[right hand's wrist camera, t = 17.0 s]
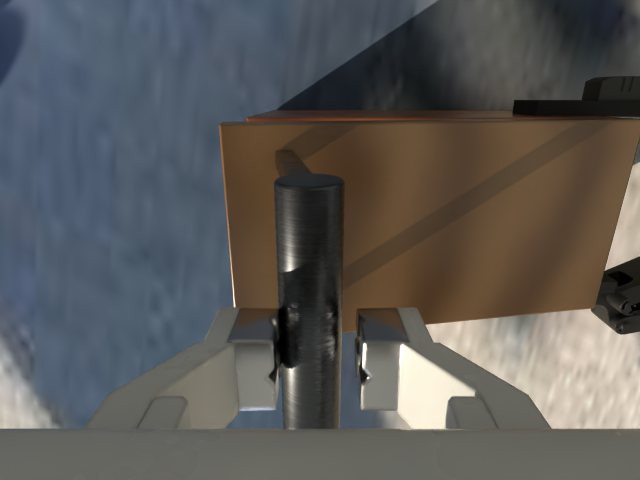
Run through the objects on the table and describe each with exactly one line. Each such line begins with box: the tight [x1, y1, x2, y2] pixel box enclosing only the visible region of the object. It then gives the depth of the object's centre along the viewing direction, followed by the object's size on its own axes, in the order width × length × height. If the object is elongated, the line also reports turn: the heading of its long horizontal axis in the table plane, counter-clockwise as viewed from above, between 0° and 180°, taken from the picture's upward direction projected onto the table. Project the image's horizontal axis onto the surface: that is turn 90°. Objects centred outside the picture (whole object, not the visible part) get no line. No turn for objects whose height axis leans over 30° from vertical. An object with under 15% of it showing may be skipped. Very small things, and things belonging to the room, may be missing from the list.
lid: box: [219, 118, 640, 429], centre depth 15 cm, size 18×9×9 cm, turn 90°
